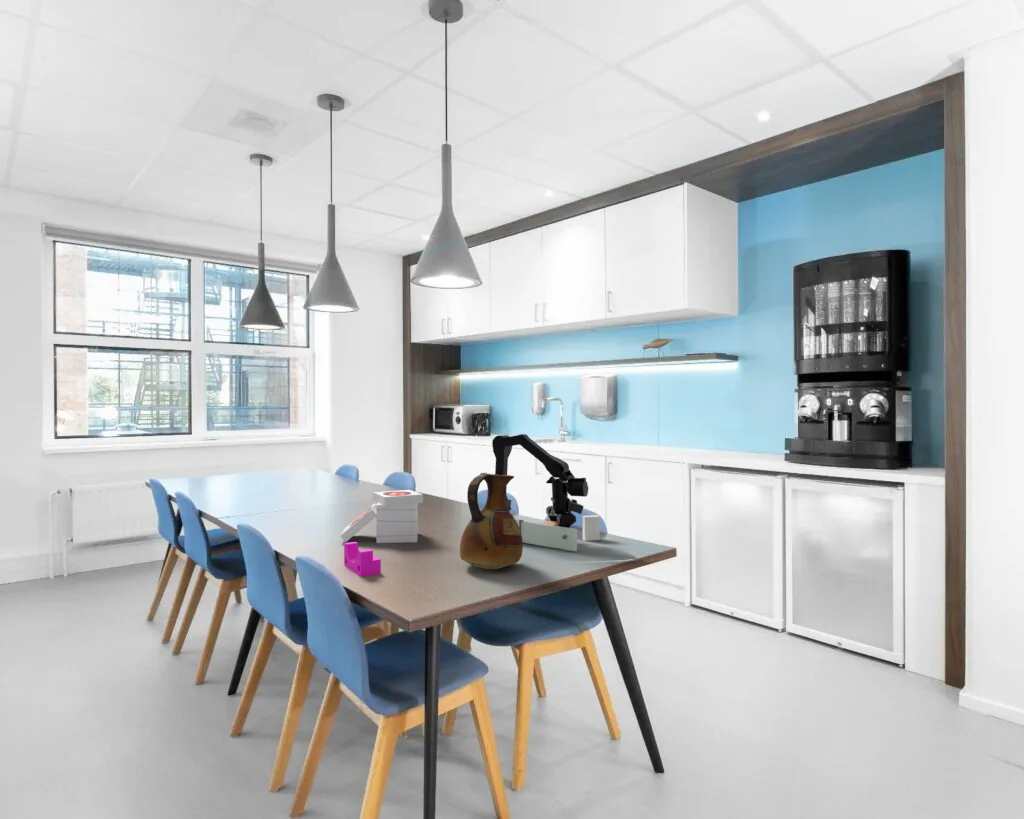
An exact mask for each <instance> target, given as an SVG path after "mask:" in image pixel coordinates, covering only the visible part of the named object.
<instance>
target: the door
mask: <svg viewBox="0 0 1024 819" xmlns="http://www.w3.org/2000/svg"><path fill="white" fill-rule="evenodd" d="M519 528H520V531H521V535H522V542H523V544H524V543H525V544H529V545H530V544H532V545H537V546H541V547H548V548H554V549H561V550H567V551H570V552H571V551H572V552H577V551H578V528H573V527H570V528H567V527H560V526H552V525H545V524H542V523H539V522H530V521H524V519H519Z"/></svg>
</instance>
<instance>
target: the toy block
mask: <svg viewBox="0 0 1024 819" xmlns="http://www.w3.org/2000/svg"><path fill="white" fill-rule="evenodd" d="M343 545H344V546H343V551H344V552H343V554H344V555H343V566H345V567H347V568H348V569H350V571H352V572H354V573H355V575H356V574H357V575H358V576H359V577H367V576H375V575H380V574H381V573H382V569H381V568H382V566H381V565H382V561H381V558H379V557H377V556H374V550H372V549H371V548H368V549H360V550H359V543H358V542H357V541H351V542H344V543H343Z"/></svg>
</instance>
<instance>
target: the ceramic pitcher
mask: <svg viewBox="0 0 1024 819" xmlns="http://www.w3.org/2000/svg"><path fill="white" fill-rule="evenodd" d="M514 478H515V475H511V474H509V475H508V474H507V475H496V474H495V473H487V472H480V473H479V475H477V476H475V477H474V478H473V479H472V480H471V481H470V483H469V484H468V487H467V496H466V497H467V503H468V508H469V511H470V515H471V519H470V520H469V521H468V523H467V525H466V526H465V528H464V530H463V533H462V536H461V539H460V543H459V556H460V559H461V560H462V561H464V562H465V563H467V564H469V565H470V566H472V567H475V568H480V569H484V570H485V569H486V570H494V571H496V570H500V569H502V568H504V567H509V566H511V565H514V564H517V563H518V562H519V561H520V560H521V559H522V556H523V548H524V543H523V542H522V535H521V531H520V528H519V526H518V523H517V522H516V520H515V519H514V518H515V517H514V516H513V514H512V513H511V512H508V511H507V509H506V504H505V496H506V495H507V490H506V486H507V485H508V484H509V483H510V482H511V480H513V479H514ZM483 481H484V482H485V483H486V487H487V497H486V502H485V504H484V507H483V508H482V509H481V510H480V507H479V501H478V492H479V488H480V484H481V483H482V482H483ZM507 487H508V486H507Z"/></svg>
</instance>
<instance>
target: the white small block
mask: <svg viewBox="0 0 1024 819" xmlns="http://www.w3.org/2000/svg"><path fill="white" fill-rule="evenodd" d="M514 519H515V520H516V522H517V523H518V526H519V520H520V519H518V518H515V517H514ZM582 540H583V541H584V542H585V541H586V542H587V541H588V542H589V541H590V542H591V541H601V516H600V515H598V514H596V515H595V514H593V515H591V514H590V515H582Z"/></svg>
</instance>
